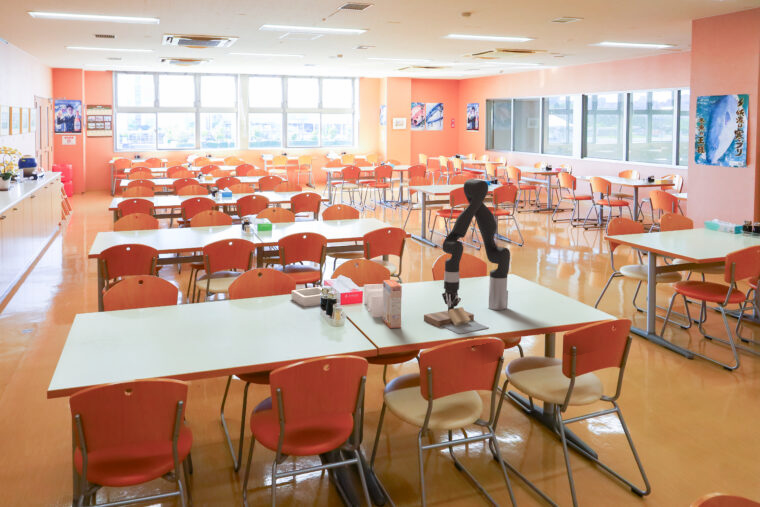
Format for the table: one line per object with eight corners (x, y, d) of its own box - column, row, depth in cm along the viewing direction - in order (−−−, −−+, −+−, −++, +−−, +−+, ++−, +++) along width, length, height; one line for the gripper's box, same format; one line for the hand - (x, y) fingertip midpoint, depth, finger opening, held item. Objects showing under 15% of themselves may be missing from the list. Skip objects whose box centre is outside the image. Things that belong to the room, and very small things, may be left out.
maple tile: (460, 310, 321) (462, 307, 319) (468, 323, 316) (470, 319, 314) (447, 313, 317) (449, 309, 315) (455, 325, 312) (457, 322, 310)
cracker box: (401, 328, 310) (402, 285, 306) (389, 328, 308) (389, 286, 304) (394, 319, 323) (394, 279, 319) (382, 320, 322) (382, 279, 318)
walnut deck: (458, 314, 333) (459, 308, 332) (473, 320, 323) (473, 314, 322) (423, 320, 322) (423, 314, 321) (438, 326, 312) (438, 320, 311)
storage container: (393, 316, 329) (393, 295, 327) (372, 317, 327) (372, 296, 325) (383, 303, 353) (383, 283, 351) (363, 304, 351) (363, 284, 349)
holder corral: (318, 295, 368) (318, 286, 367) (332, 302, 354) (332, 293, 353) (291, 299, 359) (291, 290, 358) (304, 306, 345) (303, 297, 344)
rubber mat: (469, 320, 323) (469, 319, 323) (488, 328, 310) (488, 327, 310) (440, 325, 314) (440, 324, 314) (459, 334, 301) (459, 333, 301)
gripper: (466, 281, 313) (464, 316, 317) (449, 276, 324) (448, 309, 328) (453, 283, 309) (452, 318, 313) (437, 278, 321) (436, 311, 324)
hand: (450, 313), depth 320 cm, fingers closed
